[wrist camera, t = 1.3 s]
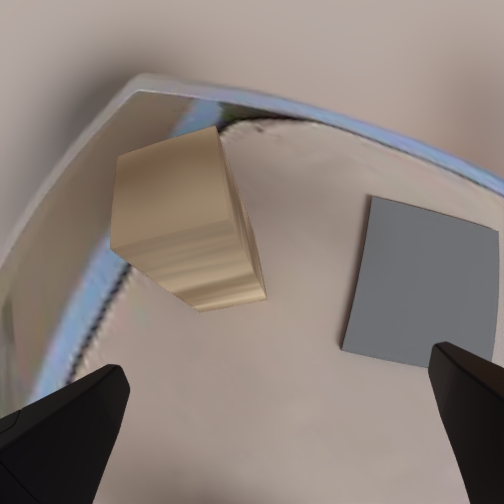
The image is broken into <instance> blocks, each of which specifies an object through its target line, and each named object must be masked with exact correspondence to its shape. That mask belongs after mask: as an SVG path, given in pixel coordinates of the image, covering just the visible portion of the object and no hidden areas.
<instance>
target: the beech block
mask: <svg viewBox="0 0 504 504" xmlns="http://www.w3.org/2000/svg"><path fill="white" fill-rule="evenodd" d="M110 249H111V250H112V251H113V252H115V253H116V254H117V255H119V256H120V257H121V258H123V259H124V260H126V261H127V262H128V263H130V264H131V265H132V266H134V267H135V268H137V269H138V270H139V271H141V272H142V273H143V274H145V275H146V276H148V277H149V278H150V279H152V280H153V281H155V282H156V283H158V284H159V285H160V286H162V287H163V288H165V289H166V290H168V291H169V292H171V293H172V294H173V295H175V296H176V297H178V298H179V299H181V300H182V301H184V302H185V303H187V304H188V305H190V306H191V307H193V308H194V309H196V310H197V311H199V312H205V311H210V310H216V309H221V308H226V307H232V306H237V305H242V304H247V303H252V302H257V301H262V300H267V296H266V291H265V286H264V280H263V275H262V270H261V264H260V259H259V254H258V248H257V243H256V238H255V235H254V232H253V229H252V226H251V224H250V221H249V218H248V215H247V212H246V210H245V207H244V204H243V201H242V198H241V196H240V193H239V190H238V187H237V184H236V182H235V179H234V176H233V173H232V171H231V168H230V165H229V162H228V159H227V157H226V154H225V151H224V148H223V146H222V143H221V140H220V137H219V135H218V132H217V129H216V126H213V127H209V128H205V129H201V130H198V131H194V132H191V133H187V134H184V135H180V136H177V137H174V138H171V139H167V140H164V141H161V142H158V143H155V144H152V145H149V146H146V147H143V148H140V149H137V150H134V151H131V152H128V153H126V154H123V155H120V156H117V164H116V172H115V182H114V192H113V203H112V217H111V234H110Z"/></svg>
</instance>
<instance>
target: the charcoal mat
mask: <svg viewBox="0 0 504 504" xmlns="http://www.w3.org/2000/svg"><path fill="white" fill-rule="evenodd" d="M498 297H499V234H498V231H496V230H493V229H489V228H486V227H483V226H480V225H477V224H474V223H470V222H467V221H464V220H460V219H457V218H453V217H450V216H446V215H443V214H439V213H436V212H432V211H428V210H425V209H421V208H417V207H413V206H410V205H406V204H402V203H398V202H394V201H389V200H385V199H381V198H377V197H373V196H372V200H371V206H370V212H369V219H368V225H367V232H366V238H365V243H364V249H363V254H362V260H361V265H360V270H359V275H358V280H357V285H356V290H355V294H354V299H353V303H352V308H351V312H350V316H349V321H348V325H347V329H346V333H345V337H344V341H343V345H342V348H341V350H342V351H347V352H351V353H355V354H360V355H364V356H369V357H374V358H378V359H383V360H388V361H393V362H398V363H403V364H409V365H414V366H419V367H425V368H428V366H429V361H430V356H431V350H432V347H433V345H434V344H435V343H439V342H444V341H447V342H450V343H452V344H454V345H456V346H458V347H460V348H462V349H465V350H467V351H469V352H471V353H473V354H475V355H477V356H479V357H482V358H484V359H486V360H488V361H490V362H492V356H493V349H494V341H495V333H496V324H497V312H498Z"/></svg>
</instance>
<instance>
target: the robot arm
mask: <svg viewBox="0 0 504 504" xmlns="http://www.w3.org/2000/svg"><path fill="white" fill-rule="evenodd" d="M428 374H429V378H430V381H431V385H432V388H433V391H434V395H435V399H436V402H437V406H438V410H439V413H440V417H441V419H442V422H443V425H444V427H445V430H446V433H447V435H448V438H449V441H450V443H451V446H452V449H453V452H454V454H455V457H456V460H457V463H458V466H459V469H460V472H461V475H462V478H463V481H464V484H465V488H466V491H467V494H468V498H469V501H470V504H504V368H503V367H501V366H499V365H496V364H494V363H492V362H490V361H488V360H486V359H484V358H482V357H479V356H477V355H475V354H473V353H471V352H469V351H467V350H465V349H462V348H460V347H458V346H456V345H454V344H452V343H450V342H447V341H444V342H439V343H435V344H434V345H433V347H432V350H431V356H430V361H429V366H428ZM129 394H130V386H129V383H128V381H127V378H126V376H125V373H124V371H123V369H122V367H121V366H120V365H115V364H107V365H105V366H103V367H102V368H100V369H98V370H96V371H94V372H92V373H90V374H88V375H86V376H84V377H83V378H81V379H79V380H77V381H75V382H73V383H71V384H69V385H67V386H65V387H63V388H61V389H59V390H58V391H56V392H54V393H52V394H50V395H48V396H46V397H44V398H42V399H40V400H38V401H36V402H34V403H32V404H30V405H28V406H26V407H24V408H22V409H21V410H18V411H16V412H14V413H12V414H10V415H7V416H5V417H3V418H1V419H0V504H93V501H94V498H95V495H96V492H97V489H98V487H99V484H100V481H101V478H102V476H103V473H104V470H105V467H106V465H107V462H108V459H109V457H110V454H111V452H112V449H113V446H114V444H115V441H116V439H117V436H118V433H119V430H120V427H121V423H122V419H123V416H124V412H125V409H126V405H127V401H128V398H129Z"/></svg>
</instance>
